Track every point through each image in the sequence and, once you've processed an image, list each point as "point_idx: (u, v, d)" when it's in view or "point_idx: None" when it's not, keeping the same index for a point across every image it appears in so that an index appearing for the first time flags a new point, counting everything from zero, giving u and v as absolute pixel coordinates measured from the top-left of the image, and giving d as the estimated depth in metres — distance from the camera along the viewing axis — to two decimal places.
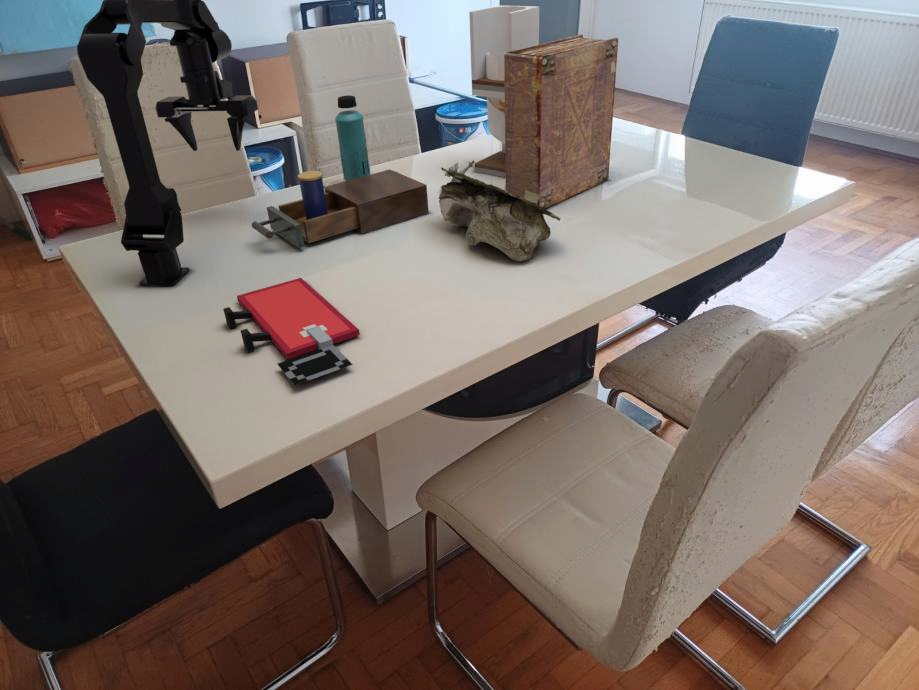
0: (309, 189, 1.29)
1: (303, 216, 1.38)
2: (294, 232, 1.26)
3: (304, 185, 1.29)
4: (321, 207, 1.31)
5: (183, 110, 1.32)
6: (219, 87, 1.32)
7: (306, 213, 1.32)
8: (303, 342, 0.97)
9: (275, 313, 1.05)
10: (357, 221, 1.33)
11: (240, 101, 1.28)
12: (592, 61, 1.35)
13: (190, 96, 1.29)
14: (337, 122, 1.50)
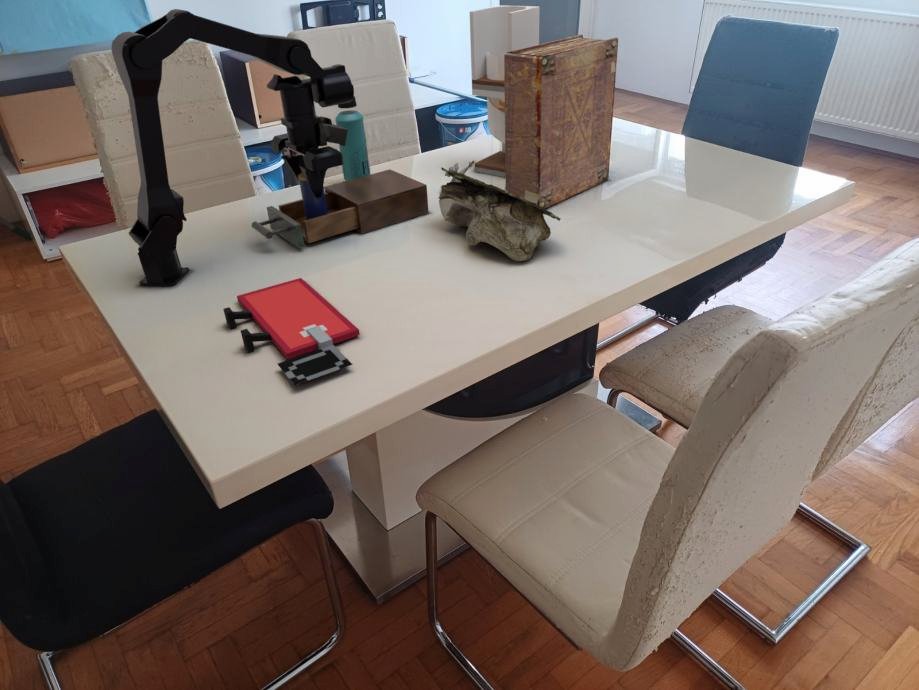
0: (309, 189, 1.29)
1: (303, 216, 1.38)
2: (294, 232, 1.26)
3: (304, 184, 1.29)
4: (321, 207, 1.31)
5: None
6: (319, 134, 1.25)
7: (306, 213, 1.32)
8: (303, 342, 0.97)
9: (275, 313, 1.05)
10: (357, 221, 1.33)
11: (313, 155, 1.19)
12: (592, 61, 1.35)
13: None
14: (337, 122, 1.50)
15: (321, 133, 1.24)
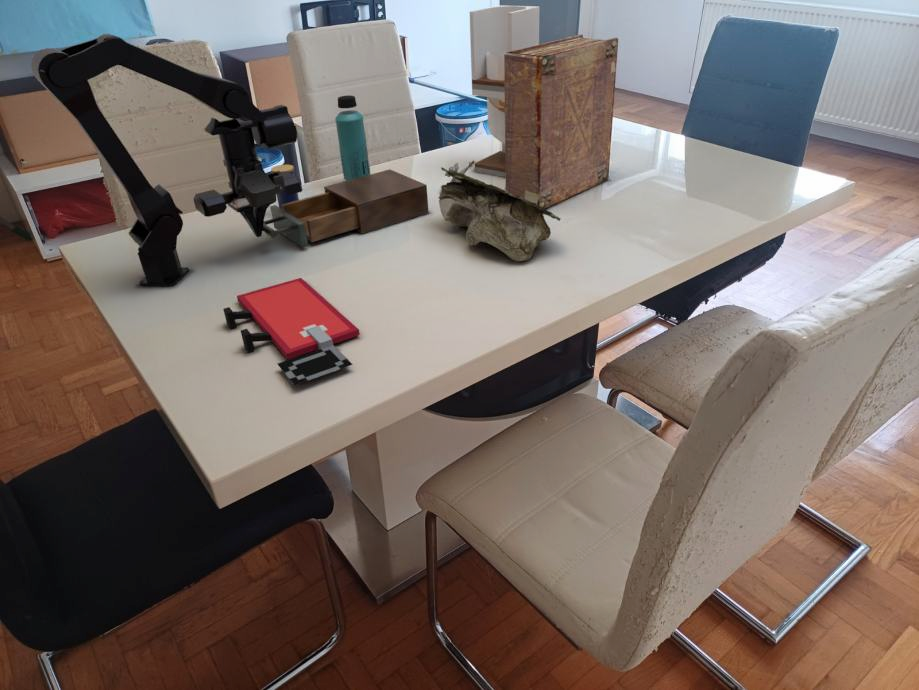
0: None
1: (306, 215, 1.38)
2: (297, 231, 1.27)
3: None
4: (293, 198, 1.42)
5: None
6: None
7: (279, 204, 1.42)
8: (303, 342, 0.97)
9: (275, 313, 1.05)
10: None
11: None
12: (592, 61, 1.35)
13: None
14: (337, 122, 1.50)
15: (234, 182, 1.19)
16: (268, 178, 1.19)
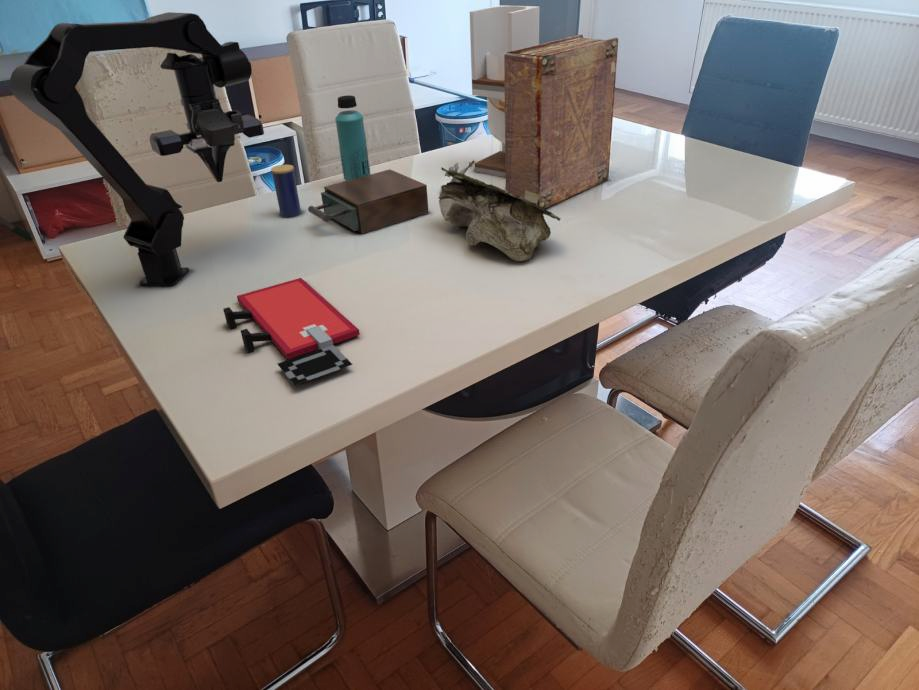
0: (281, 182, 1.39)
1: None
2: (350, 216, 1.32)
3: (276, 177, 1.39)
4: (293, 198, 1.42)
5: None
6: None
7: (279, 204, 1.42)
8: (303, 342, 0.97)
9: (275, 313, 1.05)
10: None
11: None
12: (592, 61, 1.35)
13: None
14: (337, 122, 1.50)
15: (191, 121, 1.15)
16: (226, 117, 1.15)
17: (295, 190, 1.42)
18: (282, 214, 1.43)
